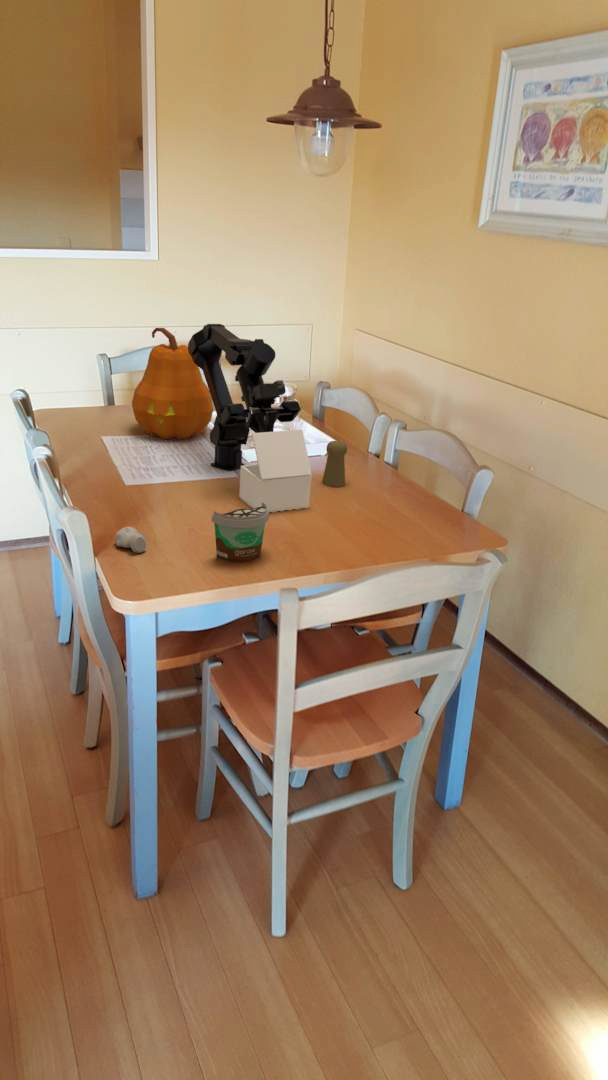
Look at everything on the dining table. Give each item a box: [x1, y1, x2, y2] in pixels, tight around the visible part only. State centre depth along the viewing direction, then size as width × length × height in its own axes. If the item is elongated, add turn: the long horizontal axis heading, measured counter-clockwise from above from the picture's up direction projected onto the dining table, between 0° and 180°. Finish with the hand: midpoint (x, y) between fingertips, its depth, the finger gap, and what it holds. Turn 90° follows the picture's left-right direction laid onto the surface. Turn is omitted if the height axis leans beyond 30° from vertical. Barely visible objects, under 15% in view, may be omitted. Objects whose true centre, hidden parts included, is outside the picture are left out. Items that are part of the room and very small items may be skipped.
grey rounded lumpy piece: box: [115, 526, 147, 554], centre depth 163 cm, size 4×8×5 cm
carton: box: [238, 463, 312, 514], centre depth 191 cm, size 11×13×8 cm
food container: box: [210, 502, 270, 564], centre depth 161 cm, size 12×6×10 cm, turn 126°
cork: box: [321, 440, 348, 488], centre depth 206 cm, size 6×6×11 cm
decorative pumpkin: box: [131, 327, 214, 440], centre depth 234 cm, size 24×24×30 cm
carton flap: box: [251, 429, 312, 480], centre depth 185 cm, size 11×13×1 cm
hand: (270, 444), depth 190 cm, fingers closed
